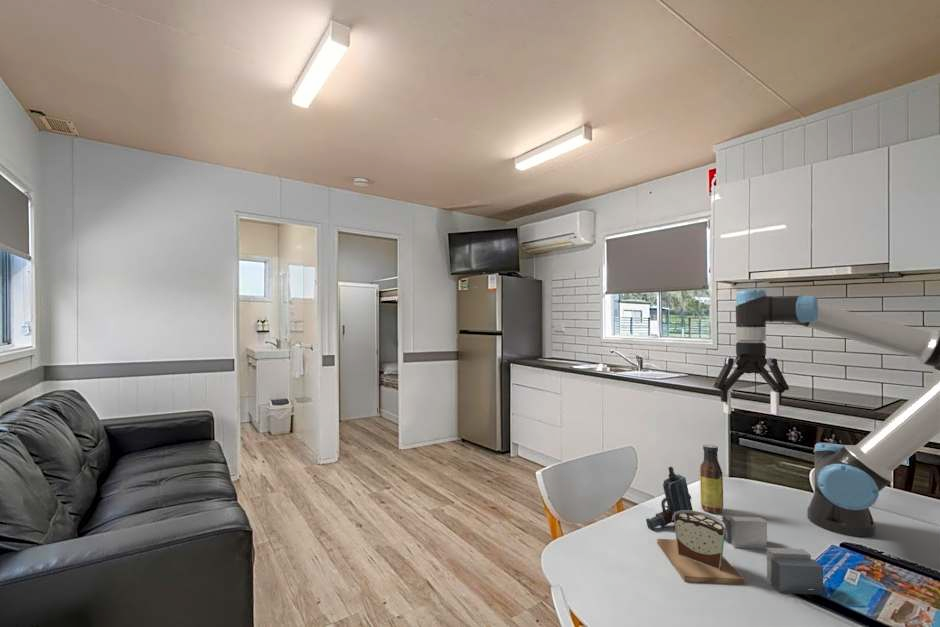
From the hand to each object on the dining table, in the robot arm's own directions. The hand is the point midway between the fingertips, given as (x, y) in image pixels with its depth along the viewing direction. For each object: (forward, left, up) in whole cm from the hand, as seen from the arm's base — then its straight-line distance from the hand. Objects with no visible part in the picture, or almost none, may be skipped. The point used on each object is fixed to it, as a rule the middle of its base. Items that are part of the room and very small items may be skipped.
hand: (750, 413), depth 130 cm
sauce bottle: (+8, -7, -32) cm, 34 cm away
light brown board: (+26, +24, -32) cm, 47 cm away
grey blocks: (+9, +21, -32) cm, 39 cm away
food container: (+25, +24, -31) cm, 46 cm away
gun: (+25, +5, -32) cm, 41 cm away
